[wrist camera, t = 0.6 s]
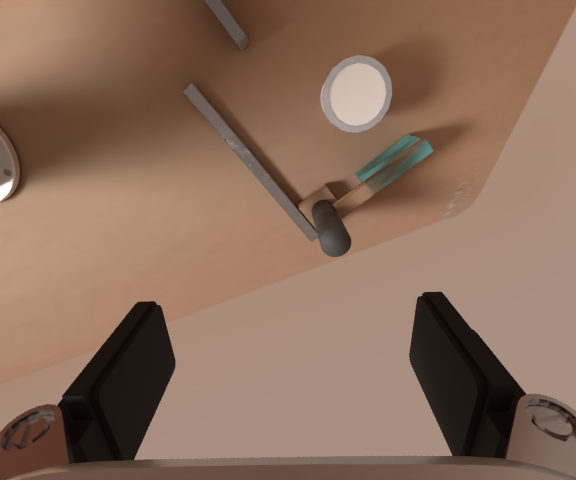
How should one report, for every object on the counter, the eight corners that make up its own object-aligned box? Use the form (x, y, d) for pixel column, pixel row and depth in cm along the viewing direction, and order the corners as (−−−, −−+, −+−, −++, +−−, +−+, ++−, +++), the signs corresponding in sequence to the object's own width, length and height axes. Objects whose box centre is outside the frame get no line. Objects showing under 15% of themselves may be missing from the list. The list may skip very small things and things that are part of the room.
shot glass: (371, 126, 37) (390, 130, 31) (315, 130, 37) (322, 135, 31) (374, 62, 35) (395, 52, 28) (313, 65, 35) (321, 57, 28)
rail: (310, 238, 43) (311, 242, 42) (185, 92, 35) (182, 91, 34) (318, 232, 43) (319, 236, 42) (194, 83, 35) (191, 82, 34)
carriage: (317, 227, 42) (330, 270, 31) (298, 204, 41) (304, 240, 30) (418, 153, 38) (473, 173, 27) (400, 124, 37) (451, 133, 26)
